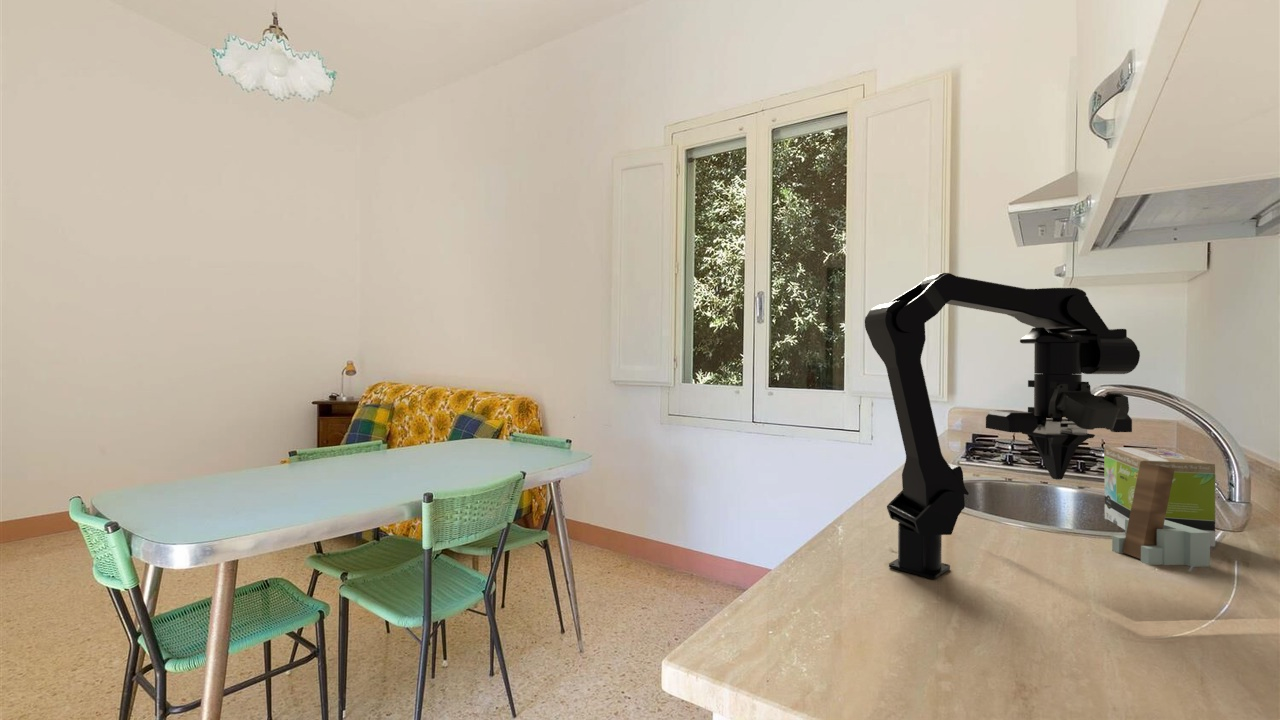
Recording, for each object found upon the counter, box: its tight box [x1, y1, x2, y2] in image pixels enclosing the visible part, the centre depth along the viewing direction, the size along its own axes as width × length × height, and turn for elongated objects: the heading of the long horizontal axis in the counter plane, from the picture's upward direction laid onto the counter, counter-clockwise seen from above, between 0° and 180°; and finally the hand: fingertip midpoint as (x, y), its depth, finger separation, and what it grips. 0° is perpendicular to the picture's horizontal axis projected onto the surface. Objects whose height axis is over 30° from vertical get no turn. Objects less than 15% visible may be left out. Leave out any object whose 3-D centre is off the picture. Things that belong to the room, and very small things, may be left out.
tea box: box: [1103, 446, 1216, 547], centre depth 100 cm, size 15×10×15 cm, turn 161°
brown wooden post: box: [1123, 462, 1175, 560], centre depth 87 cm, size 2×3×14 cm
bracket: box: [1111, 519, 1211, 568], centre depth 87 cm, size 10×8×6 cm
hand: (1056, 479), depth 86 cm, fingers closed
